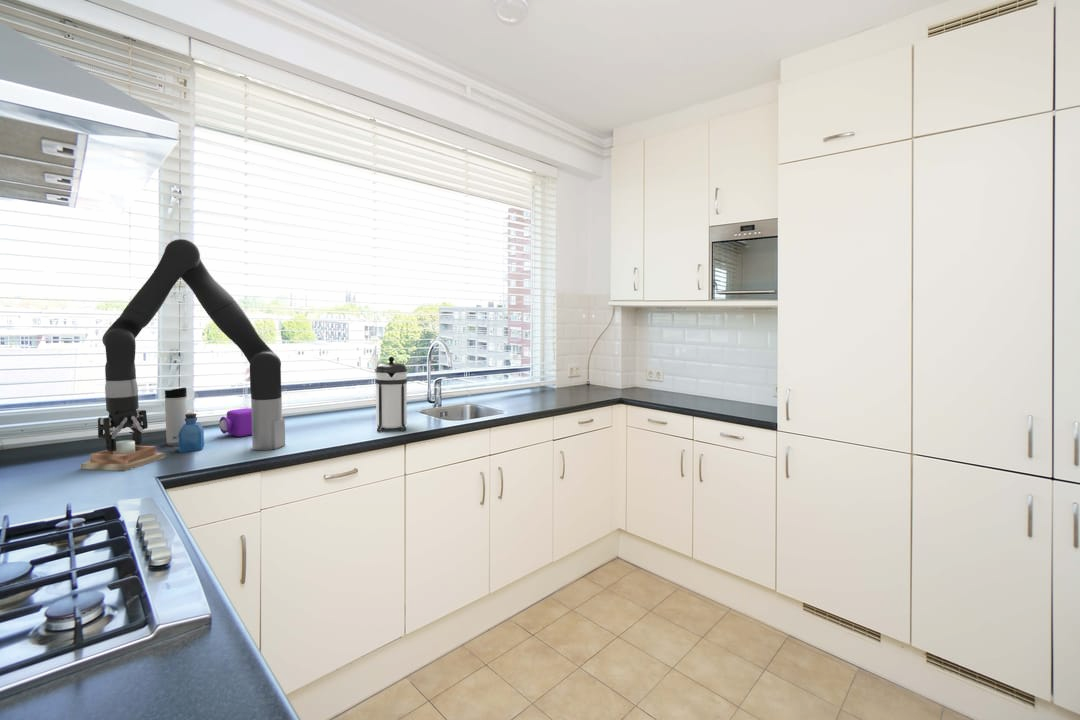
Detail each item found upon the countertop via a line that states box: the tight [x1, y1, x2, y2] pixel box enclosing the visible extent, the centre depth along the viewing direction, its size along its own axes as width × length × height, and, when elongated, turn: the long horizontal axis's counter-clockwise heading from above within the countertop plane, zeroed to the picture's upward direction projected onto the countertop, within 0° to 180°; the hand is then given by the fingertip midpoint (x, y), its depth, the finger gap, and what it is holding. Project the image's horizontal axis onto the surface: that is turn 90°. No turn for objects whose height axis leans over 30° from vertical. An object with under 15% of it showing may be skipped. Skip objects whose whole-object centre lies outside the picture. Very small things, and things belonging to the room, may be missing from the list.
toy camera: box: [218, 407, 252, 438], centre depth 190 cm, size 11×14×10 cm
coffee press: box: [374, 356, 409, 433], centre depth 206 cm, size 17×16×30 cm
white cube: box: [113, 439, 136, 455], centre depth 152 cm, size 5×5×5 cm
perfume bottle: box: [178, 412, 205, 453], centre depth 169 cm, size 6×6×12 cm
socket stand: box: [80, 445, 166, 471], centre depth 152 cm, size 14×14×4 cm
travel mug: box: [164, 387, 189, 447], centre depth 175 cm, size 6×7×20 cm
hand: (124, 447), depth 152 cm, fingers open, 8 cm apart
